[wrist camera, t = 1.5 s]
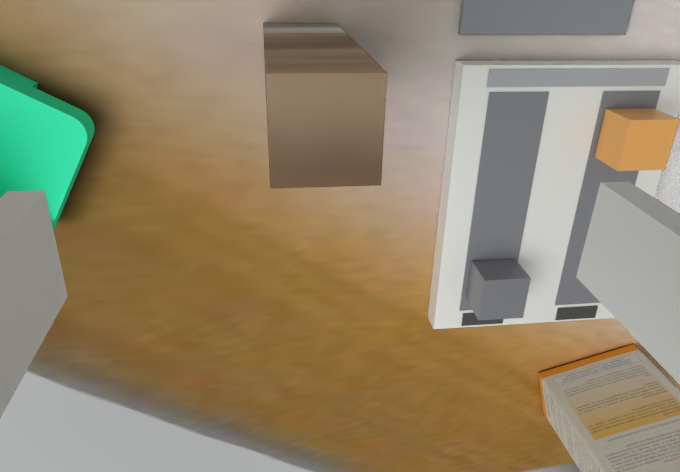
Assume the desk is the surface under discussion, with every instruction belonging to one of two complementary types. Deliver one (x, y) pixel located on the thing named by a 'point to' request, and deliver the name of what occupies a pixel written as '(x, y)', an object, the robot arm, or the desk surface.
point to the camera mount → (40, 141)
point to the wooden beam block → (322, 107)
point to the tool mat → (544, 17)
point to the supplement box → (614, 412)
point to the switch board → (533, 176)
